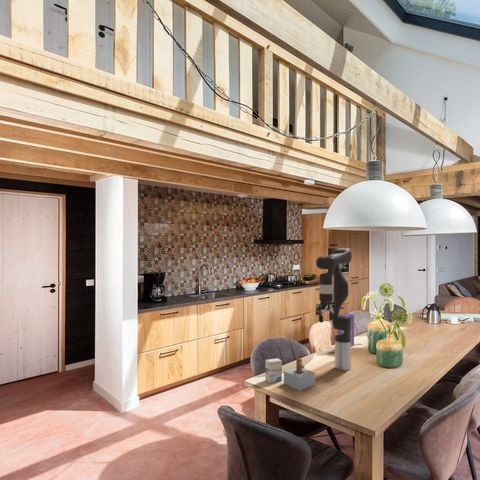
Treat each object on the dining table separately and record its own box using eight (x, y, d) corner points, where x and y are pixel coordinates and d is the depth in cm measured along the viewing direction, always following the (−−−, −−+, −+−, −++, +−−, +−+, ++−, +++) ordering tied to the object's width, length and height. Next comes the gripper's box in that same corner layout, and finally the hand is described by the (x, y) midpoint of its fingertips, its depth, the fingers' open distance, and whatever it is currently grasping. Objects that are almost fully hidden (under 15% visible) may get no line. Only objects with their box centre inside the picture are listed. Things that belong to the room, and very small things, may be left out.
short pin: (301, 374, 211) (301, 364, 211) (305, 375, 209) (305, 365, 209) (298, 375, 209) (298, 365, 210) (301, 377, 207) (302, 366, 207)
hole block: (298, 378, 205) (298, 366, 205) (314, 385, 195) (314, 372, 195) (283, 383, 197) (283, 371, 197) (299, 390, 188) (299, 377, 188)
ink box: (278, 377, 206) (278, 357, 206) (282, 381, 201) (282, 360, 201) (264, 379, 203) (265, 359, 203) (268, 383, 198) (268, 362, 198)
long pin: (302, 384, 196) (303, 359, 196) (299, 386, 194) (299, 360, 194) (298, 382, 198) (299, 358, 198) (295, 384, 196) (295, 359, 197)
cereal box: (343, 350, 259) (343, 317, 259) (337, 349, 262) (337, 316, 263) (354, 345, 272) (354, 314, 272) (348, 344, 275) (348, 313, 275)
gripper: (322, 294, 190) (323, 324, 190) (339, 291, 198) (339, 320, 198) (312, 292, 196) (312, 321, 196) (328, 290, 204) (329, 318, 204)
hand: (326, 321), depth 197 cm, fingers open, 8 cm apart
